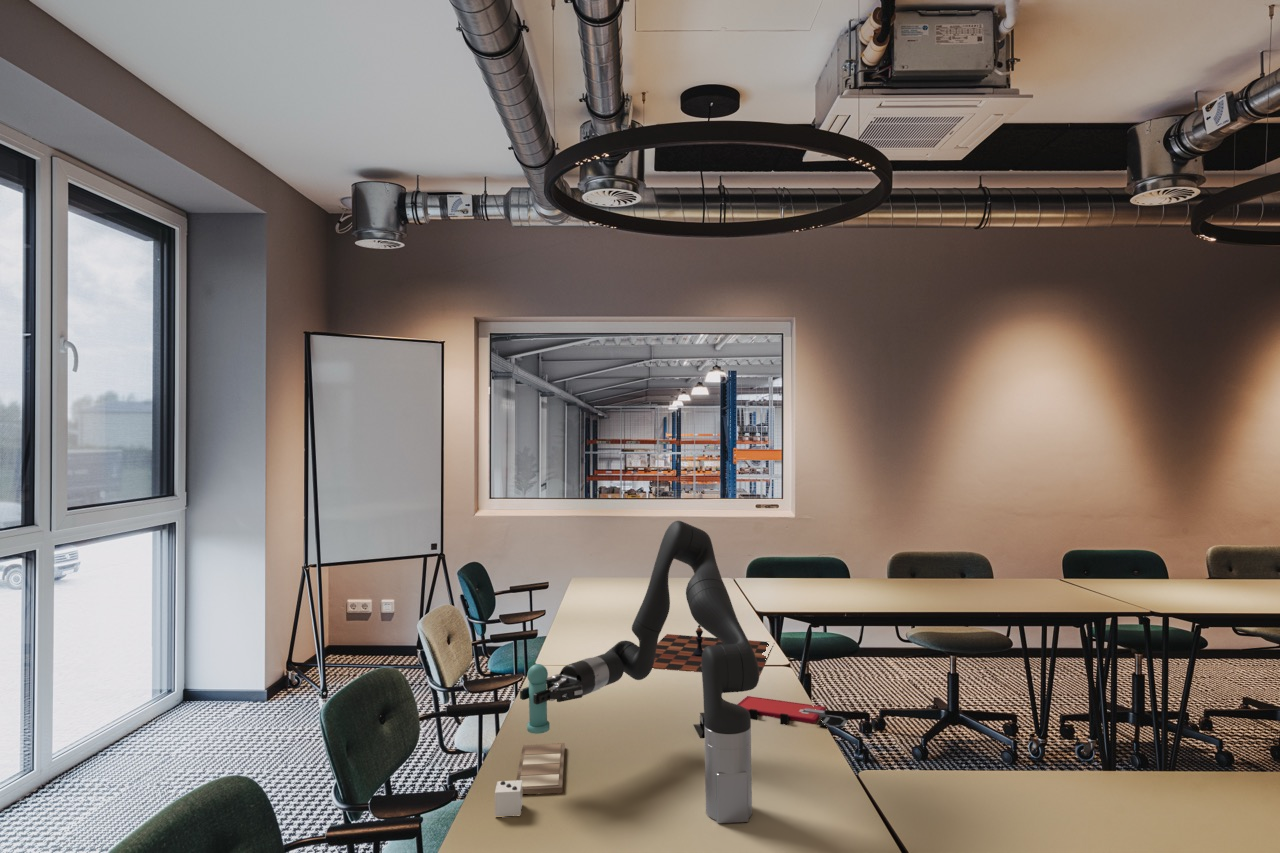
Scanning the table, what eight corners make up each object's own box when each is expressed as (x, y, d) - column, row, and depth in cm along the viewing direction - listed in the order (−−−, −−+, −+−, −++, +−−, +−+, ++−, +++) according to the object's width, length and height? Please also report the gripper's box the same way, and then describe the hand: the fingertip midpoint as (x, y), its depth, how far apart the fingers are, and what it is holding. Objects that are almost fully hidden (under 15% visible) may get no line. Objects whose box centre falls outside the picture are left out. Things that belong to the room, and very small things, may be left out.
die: (520, 816, 155) (520, 788, 155) (495, 817, 155) (494, 790, 155) (522, 804, 160) (522, 777, 160) (497, 805, 160) (497, 778, 160)
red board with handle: (840, 734, 194) (854, 716, 208) (839, 723, 194) (853, 705, 208) (728, 717, 209) (747, 701, 222) (727, 706, 209) (747, 691, 222)
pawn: (549, 733, 166) (548, 667, 166) (526, 734, 166) (525, 668, 166) (550, 724, 171) (549, 660, 171) (528, 725, 170) (527, 661, 170)
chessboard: (635, 668, 252) (635, 634, 252) (666, 636, 290) (666, 607, 290) (759, 679, 241) (759, 644, 241) (774, 645, 279) (774, 614, 279)
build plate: (726, 742, 192) (725, 723, 192) (697, 744, 191) (696, 725, 191) (715, 722, 204) (715, 705, 204) (688, 724, 204) (687, 706, 204)
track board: (562, 793, 165) (562, 786, 165) (514, 795, 164) (514, 788, 164) (564, 748, 188) (564, 742, 188) (523, 749, 187) (522, 744, 187)
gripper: (563, 654, 184) (506, 673, 171) (607, 666, 174) (550, 686, 161) (563, 686, 184) (506, 707, 171) (607, 699, 174) (550, 722, 161)
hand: (528, 697), depth 166 cm, fingers closed on pawn, 3 cm apart
